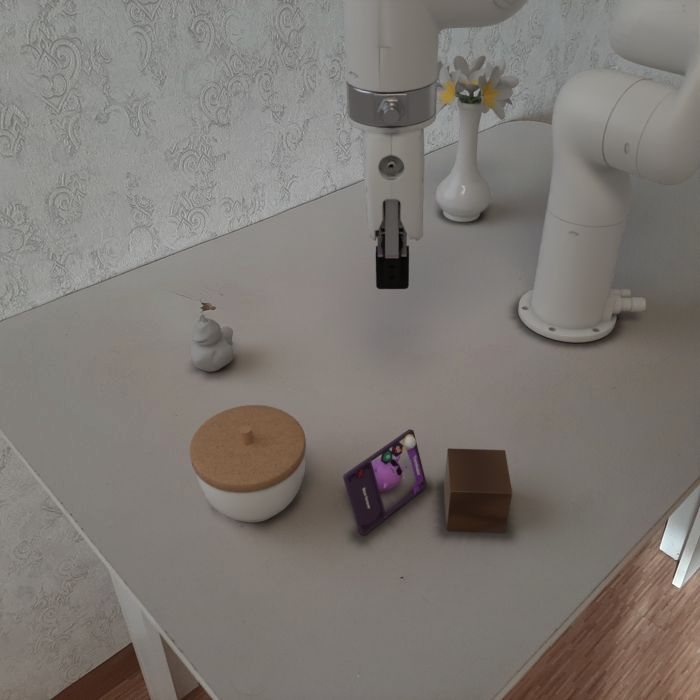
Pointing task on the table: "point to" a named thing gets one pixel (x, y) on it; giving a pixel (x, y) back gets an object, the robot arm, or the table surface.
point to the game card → (382, 481)
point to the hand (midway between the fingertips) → (392, 284)
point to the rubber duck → (211, 345)
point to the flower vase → (470, 131)
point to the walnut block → (477, 490)
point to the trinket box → (249, 461)
